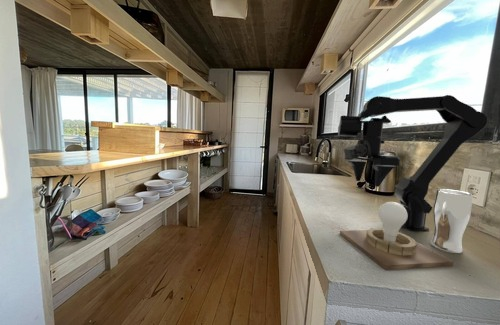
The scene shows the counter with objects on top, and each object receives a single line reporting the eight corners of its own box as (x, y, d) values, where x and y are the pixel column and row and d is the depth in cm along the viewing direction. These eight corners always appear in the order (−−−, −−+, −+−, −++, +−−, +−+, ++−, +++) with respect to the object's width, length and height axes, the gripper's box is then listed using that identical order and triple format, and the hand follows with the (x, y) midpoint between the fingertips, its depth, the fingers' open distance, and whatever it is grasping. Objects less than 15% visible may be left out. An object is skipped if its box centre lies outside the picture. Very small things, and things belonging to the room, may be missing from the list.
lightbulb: (408, 251, 51) (414, 207, 50) (380, 247, 52) (385, 204, 51) (396, 240, 57) (401, 200, 56) (371, 236, 58) (376, 197, 57)
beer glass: (468, 257, 51) (478, 197, 50) (431, 249, 55) (439, 192, 53) (459, 246, 57) (468, 191, 56) (426, 238, 61) (433, 187, 59)
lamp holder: (391, 232, 64) (392, 222, 64) (452, 265, 48) (454, 253, 47) (339, 234, 62) (340, 224, 61) (385, 269, 45) (386, 256, 45)
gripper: (333, 136, 78) (330, 178, 80) (369, 135, 60) (363, 190, 61) (361, 137, 80) (357, 178, 81) (404, 137, 61) (397, 190, 63)
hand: (366, 183), depth 72 cm, fingers open, 9 cm apart
